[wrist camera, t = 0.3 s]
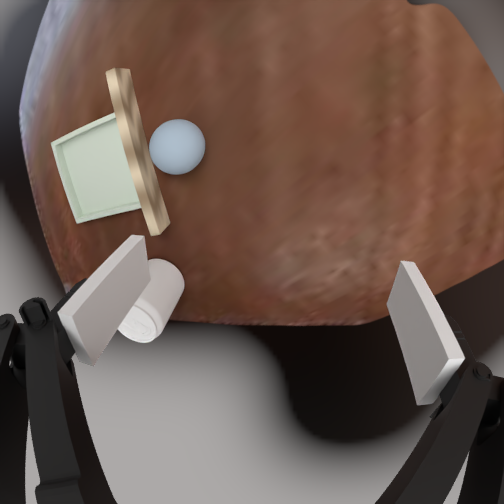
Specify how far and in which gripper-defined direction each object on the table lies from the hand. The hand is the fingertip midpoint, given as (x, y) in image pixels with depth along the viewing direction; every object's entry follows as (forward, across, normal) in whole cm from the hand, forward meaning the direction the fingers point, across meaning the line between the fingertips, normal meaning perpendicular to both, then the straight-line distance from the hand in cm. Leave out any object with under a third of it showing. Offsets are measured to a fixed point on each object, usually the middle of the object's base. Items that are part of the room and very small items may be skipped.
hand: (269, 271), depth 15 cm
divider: (+26, -20, +2) cm, 33 cm away
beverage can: (+26, -18, -20) cm, 38 cm away
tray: (+26, -28, -1) cm, 38 cm away
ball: (+26, -13, +2) cm, 29 cm away
